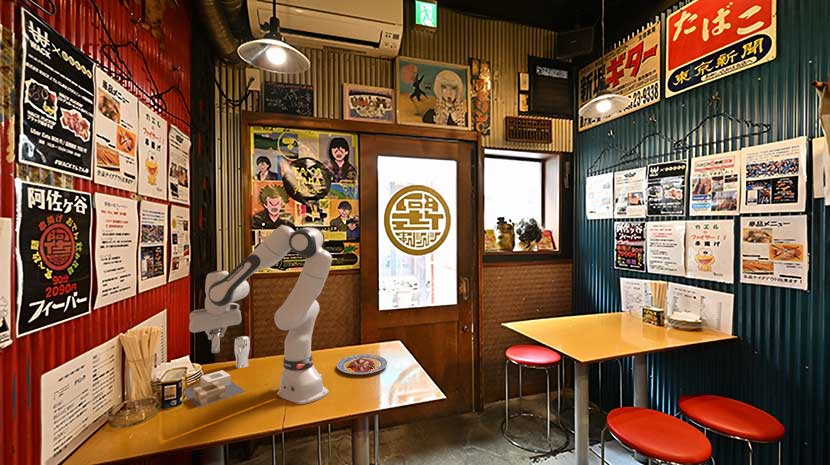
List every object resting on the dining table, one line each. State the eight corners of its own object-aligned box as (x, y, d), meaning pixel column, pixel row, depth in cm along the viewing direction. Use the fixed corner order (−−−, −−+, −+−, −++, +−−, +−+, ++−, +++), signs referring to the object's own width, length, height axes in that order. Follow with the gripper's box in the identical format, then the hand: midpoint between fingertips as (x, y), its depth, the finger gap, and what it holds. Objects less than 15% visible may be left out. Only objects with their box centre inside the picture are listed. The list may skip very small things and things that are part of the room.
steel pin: (222, 351, 150) (222, 329, 150) (212, 354, 147) (212, 331, 147) (218, 349, 152) (219, 327, 152) (209, 351, 149) (209, 329, 149)
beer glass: (243, 370, 167) (243, 340, 167) (231, 369, 169) (231, 339, 169) (252, 365, 174) (252, 336, 174) (240, 364, 175) (241, 335, 175)
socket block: (230, 384, 150) (230, 375, 150) (208, 391, 143) (208, 382, 143) (222, 378, 156) (222, 370, 156) (200, 385, 149) (200, 376, 149)
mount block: (225, 397, 139) (225, 387, 139) (201, 405, 132) (201, 395, 132) (217, 390, 145) (217, 380, 145) (193, 397, 138) (193, 388, 138)
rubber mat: (245, 393, 144) (245, 391, 144) (197, 410, 130) (197, 407, 130) (224, 378, 158) (224, 376, 158) (179, 392, 144) (179, 390, 144)
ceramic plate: (325, 369, 171) (325, 363, 171) (361, 354, 192) (361, 349, 192) (363, 383, 156) (363, 376, 156) (397, 365, 177) (397, 359, 177)
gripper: (192, 312, 140) (191, 345, 140) (243, 304, 155) (242, 334, 155) (187, 309, 144) (186, 342, 144) (237, 302, 159) (236, 331, 159)
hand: (216, 338), depth 150 cm, fingers closed on steel pin, 3 cm apart
